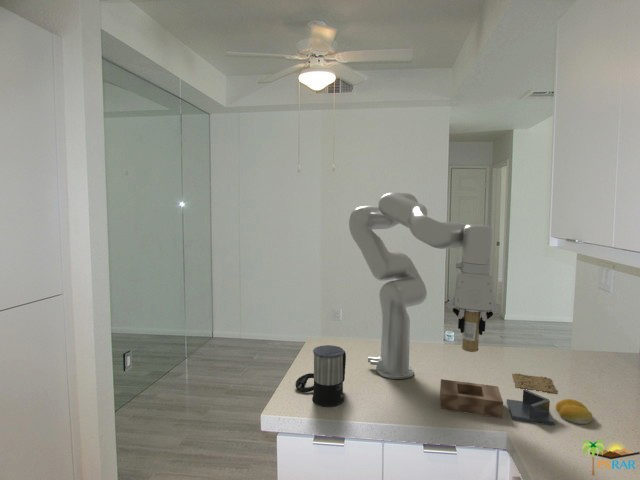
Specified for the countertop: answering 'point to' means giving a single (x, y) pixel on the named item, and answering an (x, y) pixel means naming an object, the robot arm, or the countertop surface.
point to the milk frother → (326, 376)
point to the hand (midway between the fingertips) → (471, 331)
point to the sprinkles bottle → (471, 330)
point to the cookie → (534, 383)
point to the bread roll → (573, 411)
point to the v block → (531, 409)
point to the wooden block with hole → (471, 398)
